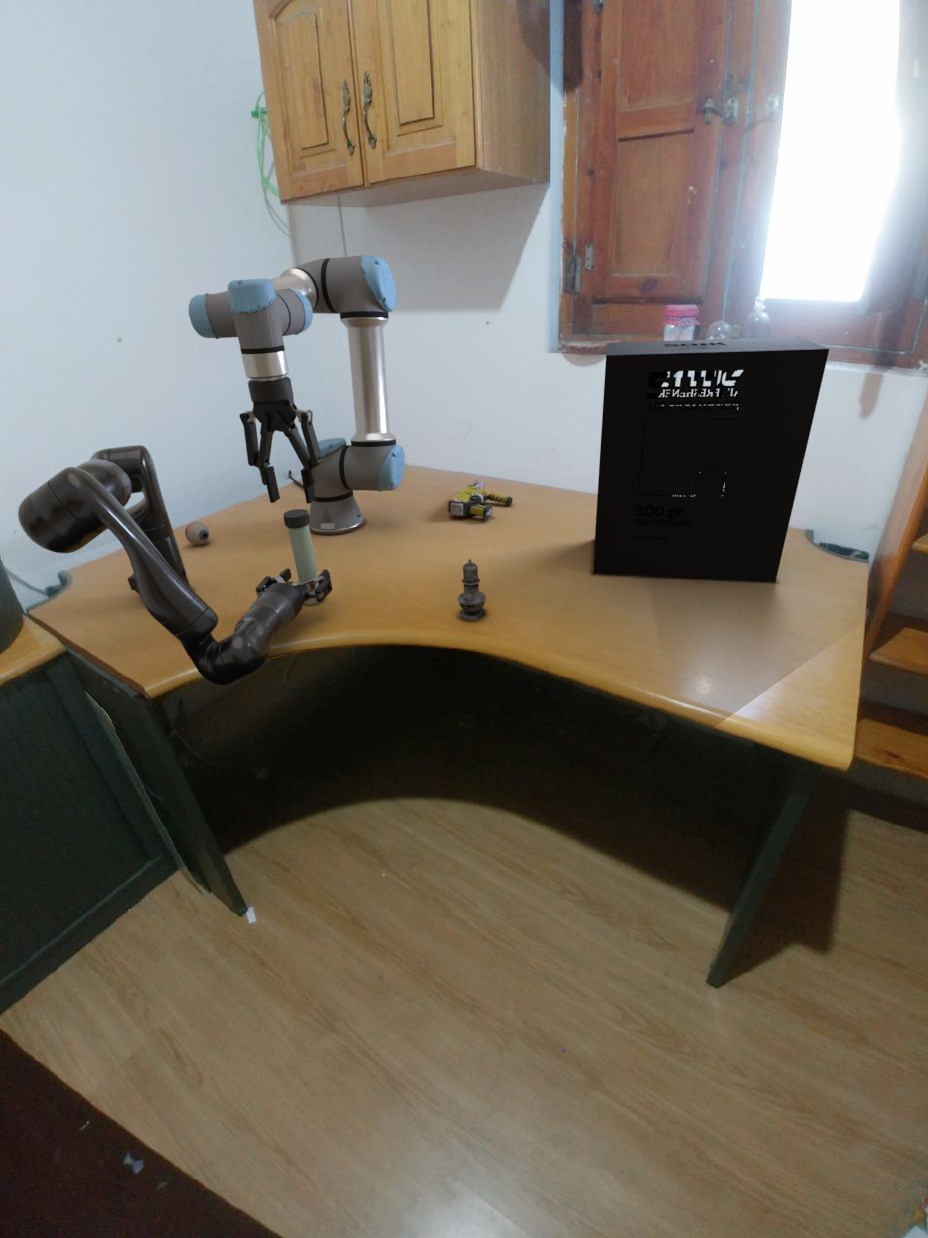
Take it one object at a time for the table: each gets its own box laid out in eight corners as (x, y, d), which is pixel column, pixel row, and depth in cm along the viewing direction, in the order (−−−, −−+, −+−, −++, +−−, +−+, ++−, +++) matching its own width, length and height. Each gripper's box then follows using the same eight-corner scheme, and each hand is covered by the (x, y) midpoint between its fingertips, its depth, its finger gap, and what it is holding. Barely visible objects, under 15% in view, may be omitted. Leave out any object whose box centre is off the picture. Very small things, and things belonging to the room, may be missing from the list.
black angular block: (755, 543, 144) (798, 336, 121) (775, 581, 127) (829, 348, 104) (594, 538, 151) (606, 342, 129) (592, 573, 134) (606, 355, 112)
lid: (306, 527, 120) (304, 516, 118) (282, 528, 120) (280, 517, 119) (312, 518, 124) (310, 508, 123) (288, 519, 124) (286, 509, 123)
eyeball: (198, 549, 158) (192, 528, 155) (183, 545, 161) (177, 524, 158) (217, 541, 163) (211, 520, 160) (202, 538, 166) (196, 517, 163)
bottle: (320, 604, 129) (303, 518, 119) (301, 605, 129) (283, 519, 119) (324, 595, 132) (308, 511, 123) (306, 596, 132) (288, 512, 123)
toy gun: (520, 484, 182) (474, 477, 186) (498, 508, 162) (446, 499, 166) (519, 500, 184) (473, 492, 188) (497, 524, 164) (445, 516, 168)
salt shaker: (484, 621, 119) (482, 566, 113) (455, 619, 120) (451, 564, 114) (489, 607, 124) (487, 553, 118) (461, 605, 125) (458, 552, 119)
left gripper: (306, 593, 111) (337, 557, 124) (235, 591, 113) (272, 555, 127) (314, 628, 114) (342, 589, 128) (244, 625, 117) (280, 587, 131)
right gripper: (328, 372, 109) (347, 495, 121) (229, 375, 113) (256, 493, 125) (311, 379, 103) (333, 508, 114) (206, 382, 107) (237, 506, 118)
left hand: (308, 572), depth 127 cm, fingers open, 8 cm apart
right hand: (293, 500), depth 119 cm, fingers open, 7 cm apart
